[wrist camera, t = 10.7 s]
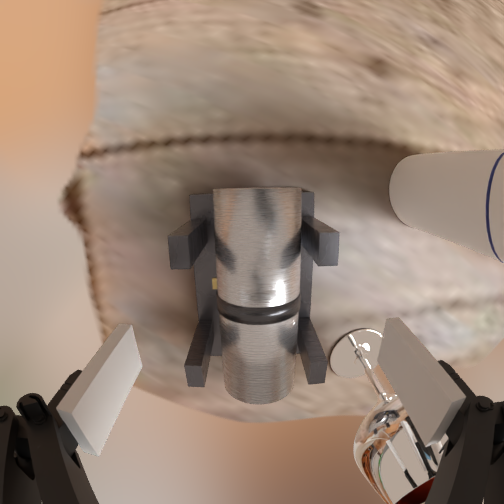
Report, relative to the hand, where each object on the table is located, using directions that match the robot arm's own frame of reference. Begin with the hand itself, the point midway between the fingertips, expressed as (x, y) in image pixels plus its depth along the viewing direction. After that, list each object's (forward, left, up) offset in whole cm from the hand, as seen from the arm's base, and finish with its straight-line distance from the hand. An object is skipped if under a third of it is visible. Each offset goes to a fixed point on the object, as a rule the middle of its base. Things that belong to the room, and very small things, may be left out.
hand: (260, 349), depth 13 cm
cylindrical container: (-8, +16, -12) cm, 21 cm away
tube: (+1, 0, -11) cm, 11 cm away
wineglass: (+9, +11, -12) cm, 19 cm away
